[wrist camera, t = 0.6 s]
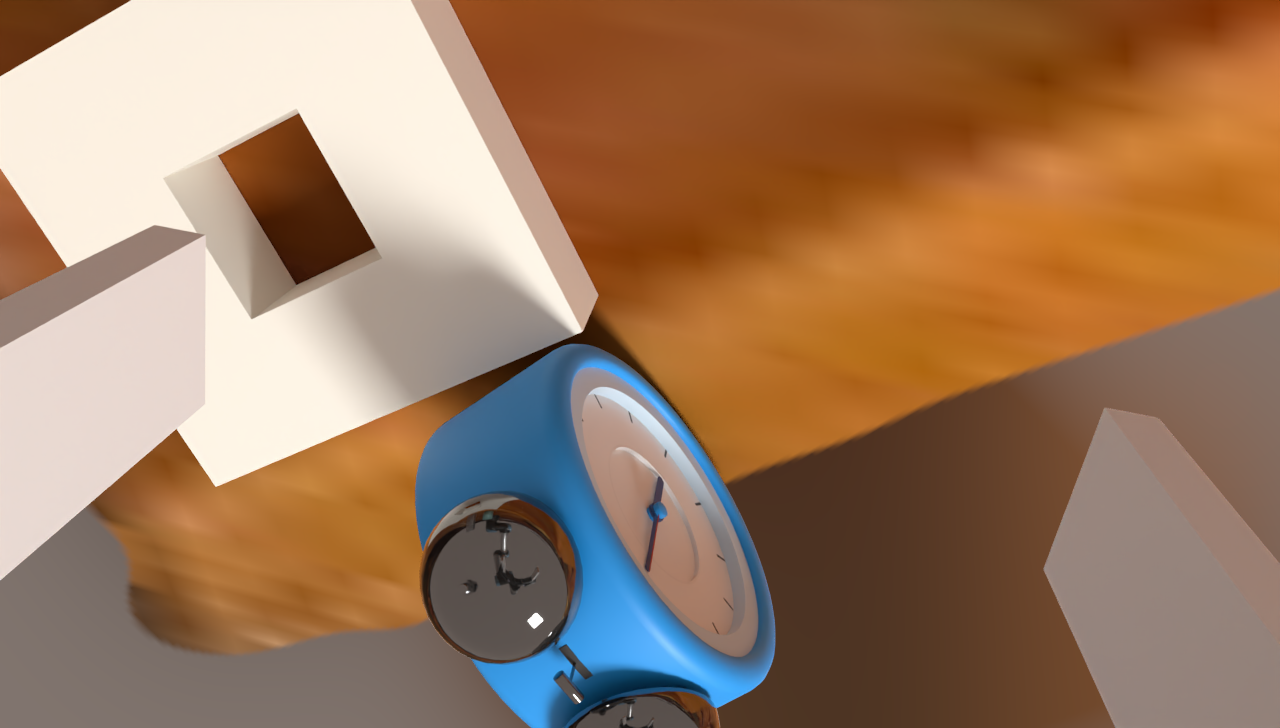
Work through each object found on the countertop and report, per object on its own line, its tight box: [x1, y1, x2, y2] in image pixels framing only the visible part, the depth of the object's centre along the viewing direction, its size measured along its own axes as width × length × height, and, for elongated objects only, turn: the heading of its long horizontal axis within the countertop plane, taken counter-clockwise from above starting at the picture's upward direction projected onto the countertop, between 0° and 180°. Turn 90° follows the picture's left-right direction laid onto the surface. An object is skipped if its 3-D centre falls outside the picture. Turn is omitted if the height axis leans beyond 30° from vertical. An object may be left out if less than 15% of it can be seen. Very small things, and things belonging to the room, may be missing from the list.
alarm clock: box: [415, 344, 775, 728], centre depth 36 cm, size 13×6×15 cm, turn 36°
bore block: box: [0, 0, 598, 487], centre depth 38 cm, size 16×16×4 cm
